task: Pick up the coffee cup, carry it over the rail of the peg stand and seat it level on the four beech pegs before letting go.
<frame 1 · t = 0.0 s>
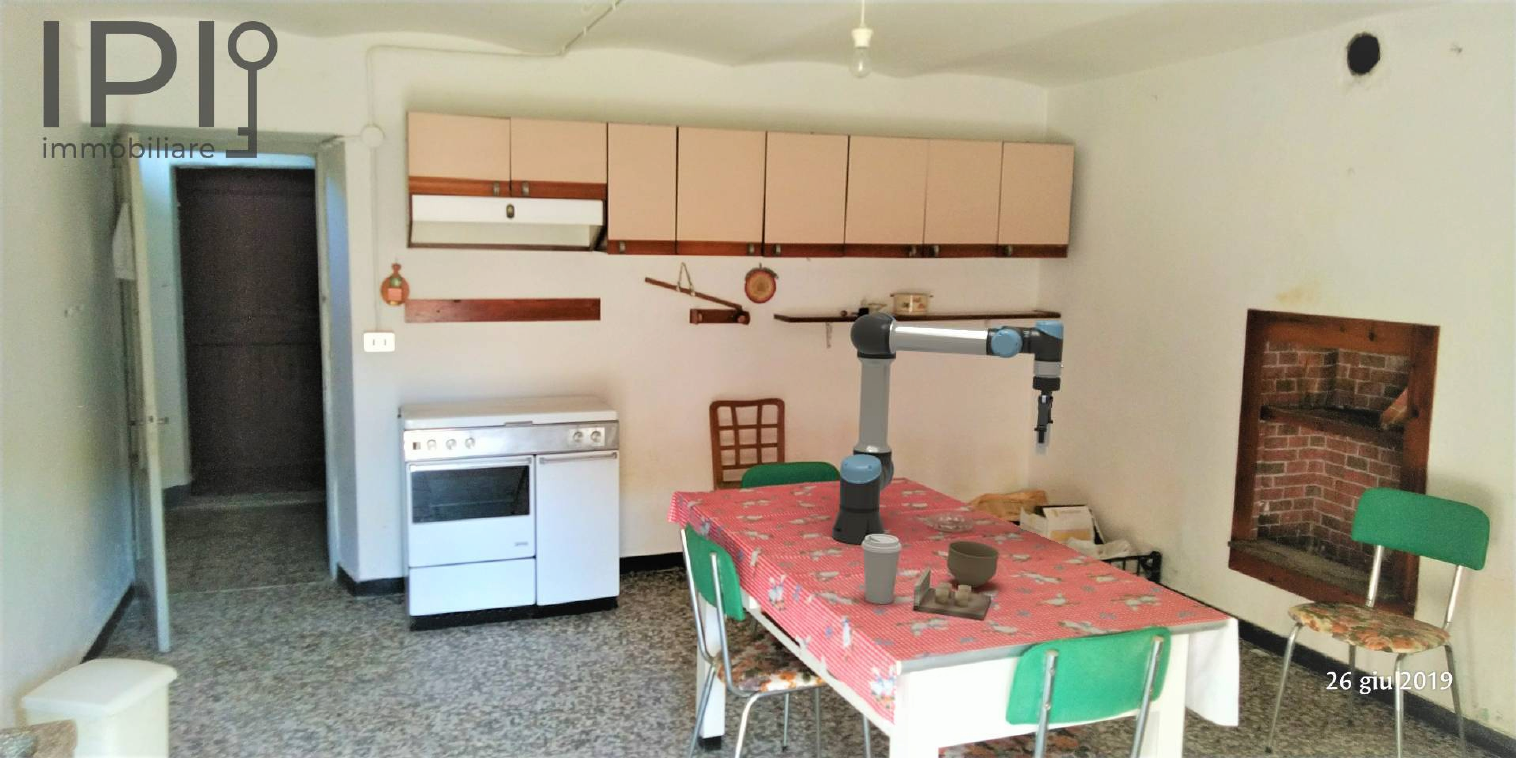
hand: (1042, 450, 287), 28 cm above the table, fingers open, 13 cm apart
bowl: (971, 586, 254), on the table
peg stand: (952, 605, 239), on the table
coffee cup: (879, 600, 242), on the table
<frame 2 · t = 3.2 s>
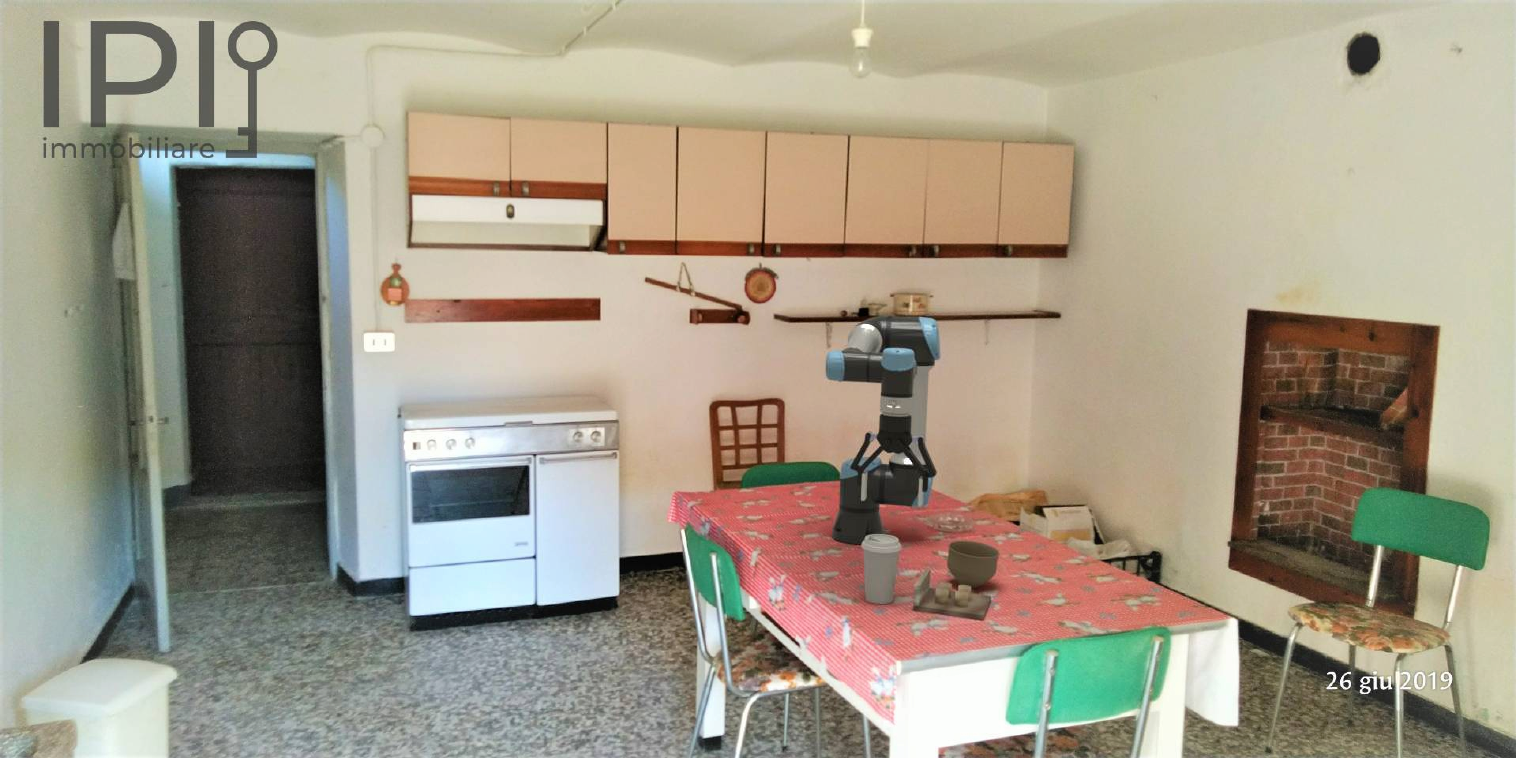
hand: (891, 502, 241), 23 cm above the table, fingers open, 13 cm apart
nothing on the table moved.
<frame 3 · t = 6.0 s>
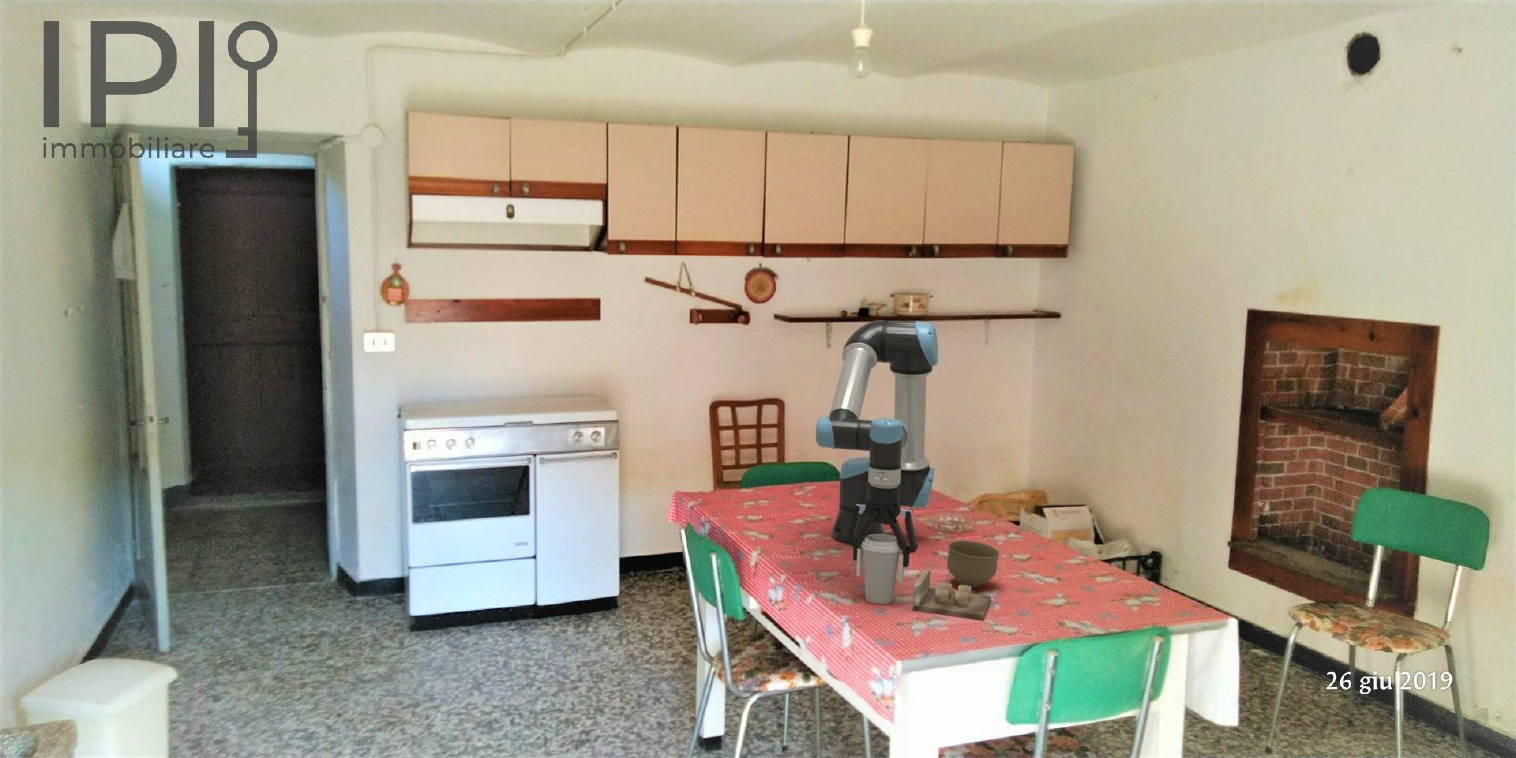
hand: (880, 576, 241), 6 cm above the table, fingers closed on coffee cup, 9 cm apart
coffee cup: (879, 600, 242), on the table, touching gripper
everything else where it was.
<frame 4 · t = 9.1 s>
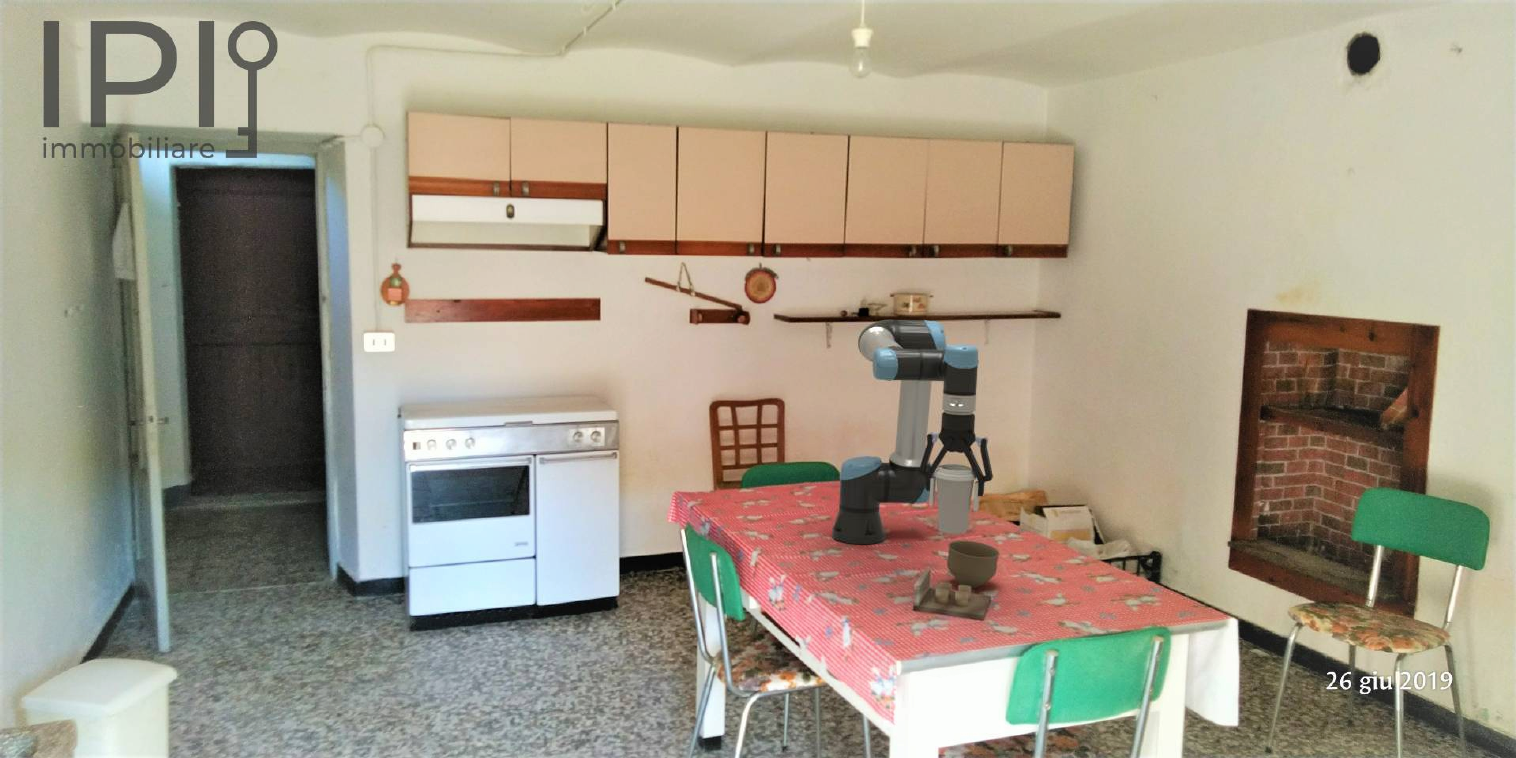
hand: (953, 507, 236), 24 cm above the table, fingers closed on coffee cup, 9 cm apart
coffee cup: (952, 531, 237), point 18 cm above the table, touching gripper
everything else where it was.
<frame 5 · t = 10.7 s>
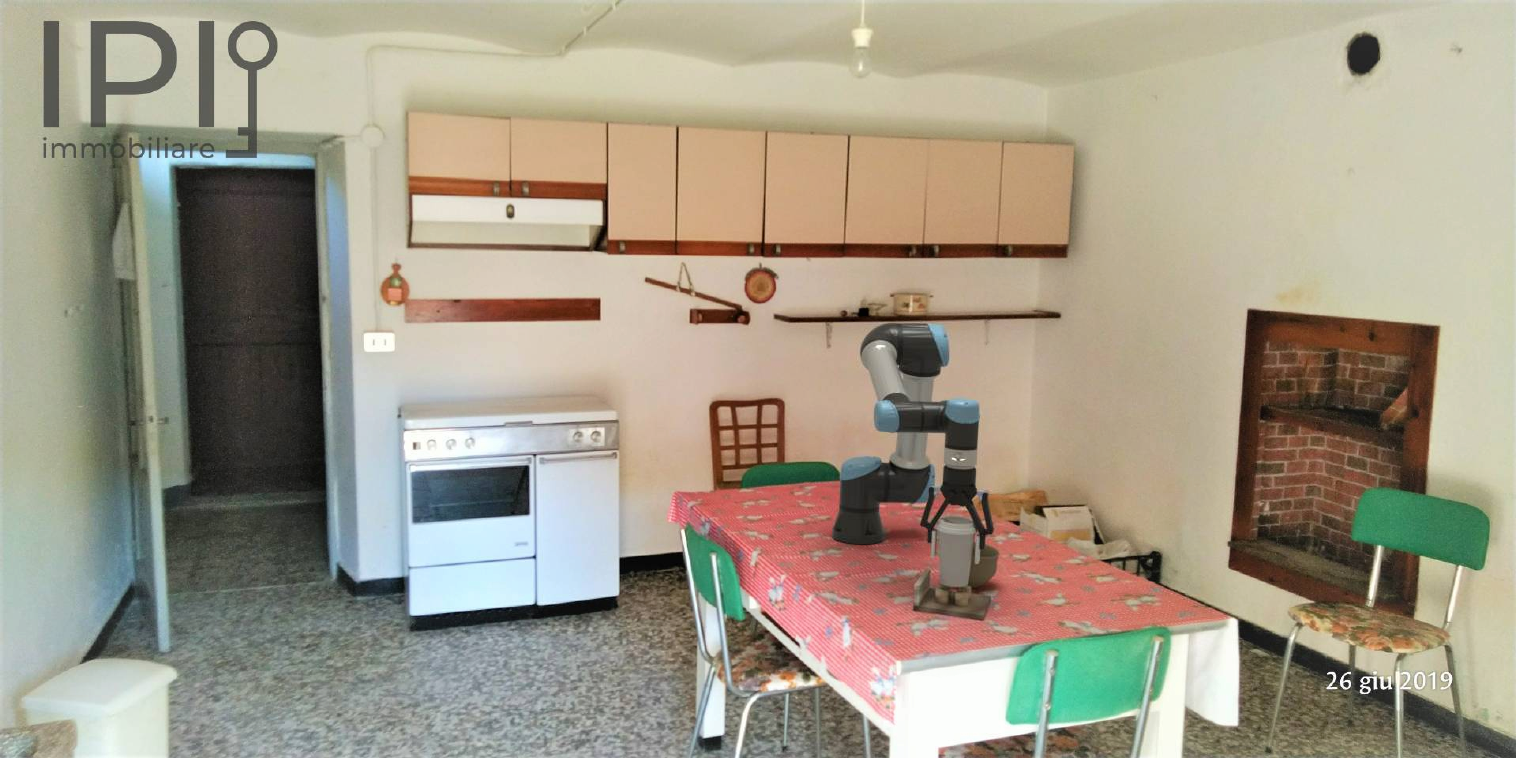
hand: (955, 559, 238), 11 cm above the table, fingers closed on coffee cup, 9 cm apart
coffee cup: (953, 583, 238), point 5 cm above the table, touching gripper
everything else where it was.
when the fingers open (10 cm above the table, at t = 12.2 s): coffee cup stays where it is, resting on peg stand.
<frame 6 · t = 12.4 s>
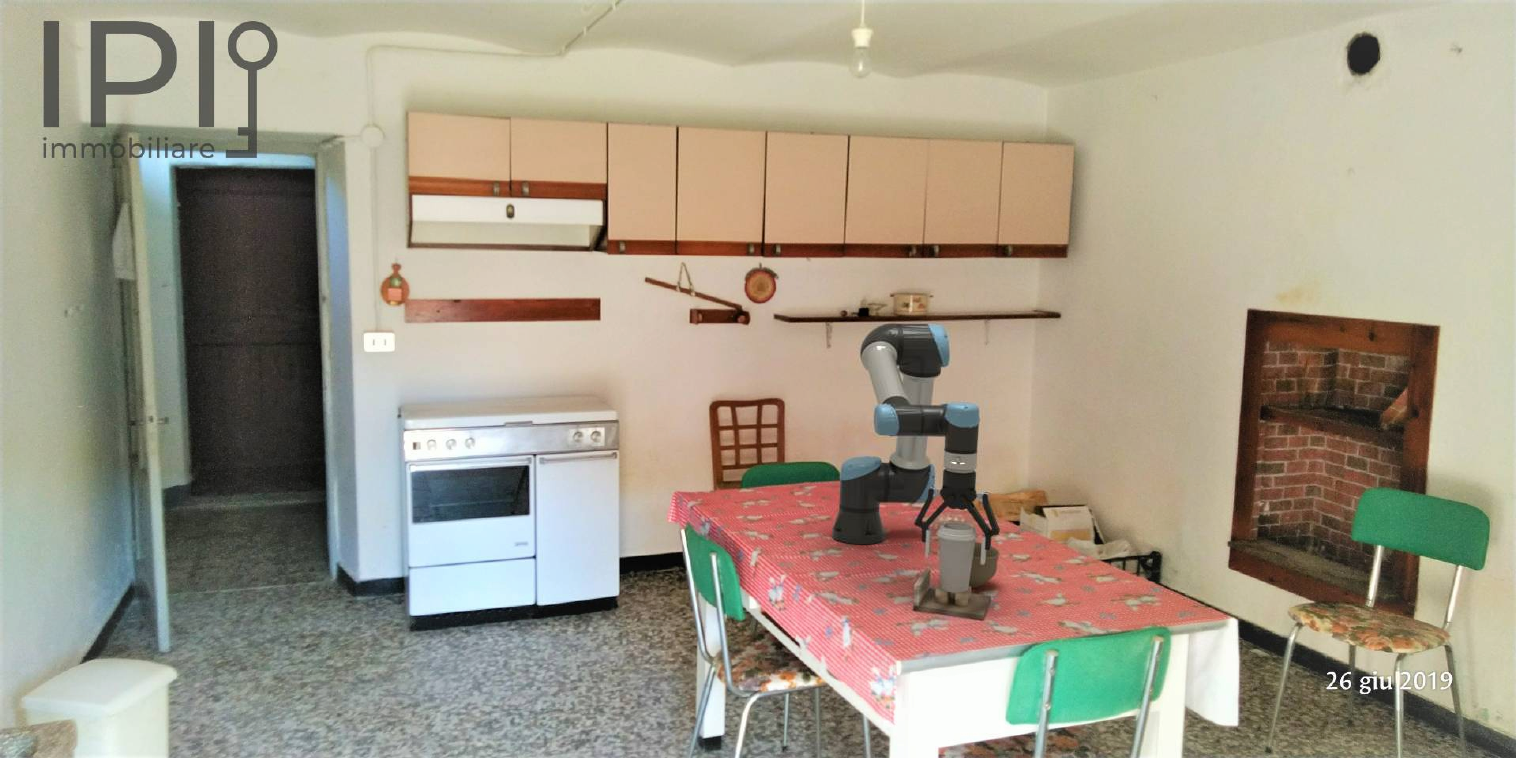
hand: (955, 559, 238), 11 cm above the table, fingers open, 12 cm apart
coffee cup: (953, 589, 239), point 4 cm above the table, touching peg stand
everything else where it was.
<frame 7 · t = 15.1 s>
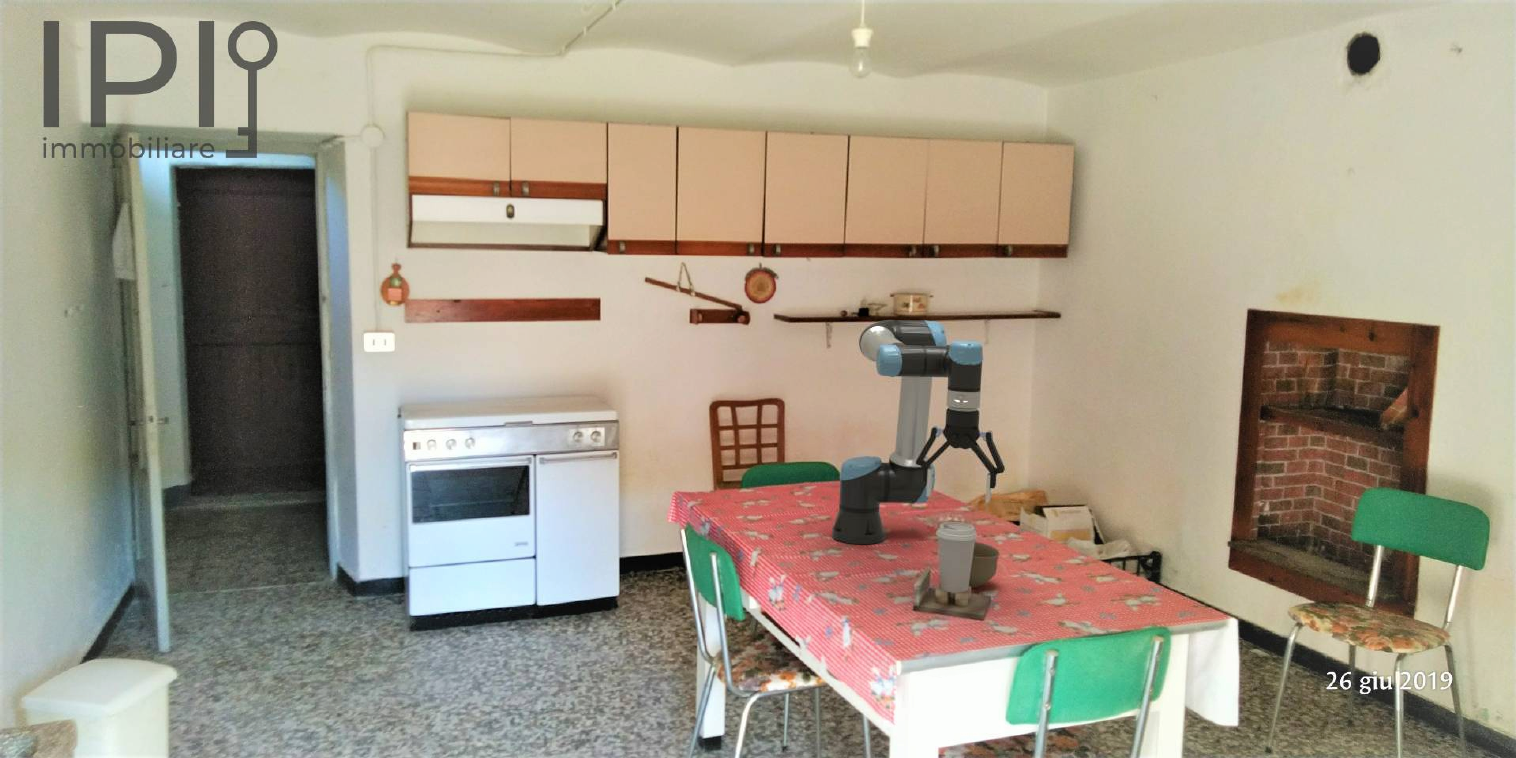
hand: (958, 498, 236), 26 cm above the table, fingers open, 13 cm apart
nothing on the table moved.
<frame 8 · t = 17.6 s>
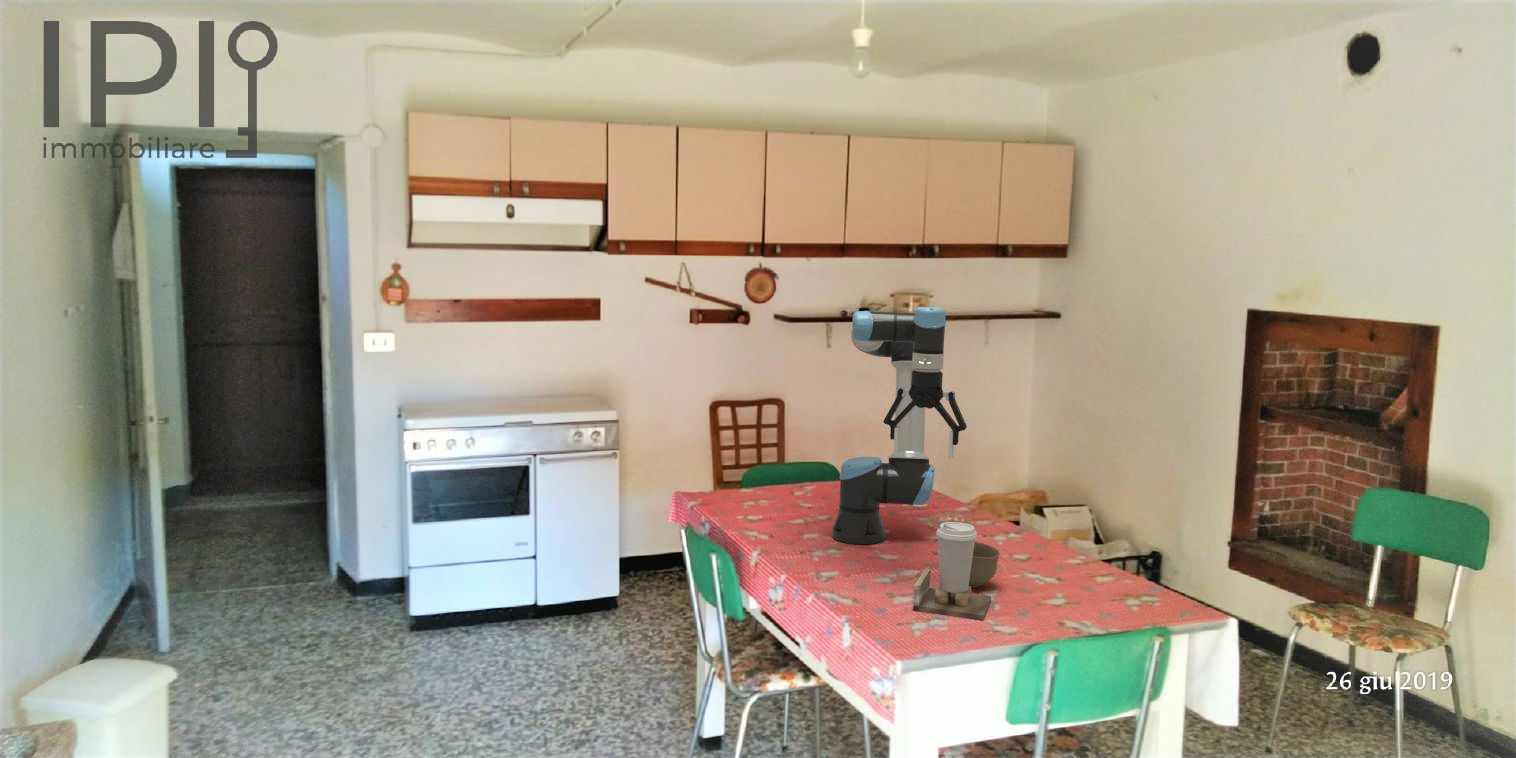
hand: (923, 455, 251), 33 cm above the table, fingers open, 13 cm apart
nothing on the table moved.
at the end: coffee cup 0.1 cm off-centre on the peg stand, point 4.0 cm above the peg stand's base; coffee cup tilted 0°; the gripper is holding nothing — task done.
